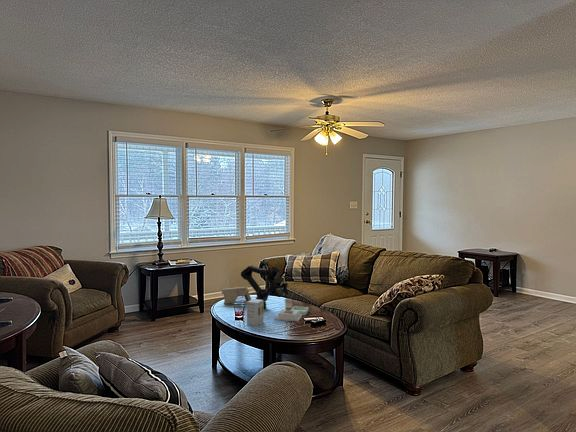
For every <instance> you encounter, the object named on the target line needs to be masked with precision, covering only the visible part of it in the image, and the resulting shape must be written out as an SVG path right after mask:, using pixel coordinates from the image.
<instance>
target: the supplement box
mask: <svg viewBox="0 0 576 432" xmlns="http://www.w3.org/2000/svg"><path fill="white" fill-rule="evenodd" d="M264 311H265V309H264V300H258V299H256V298H251V300H250V301H247V304H246V325H247V326H248V325H249V326H254V327H259V326H261V325H262V324H263V323H264V320H265V317H264V315H265V313H264Z"/></svg>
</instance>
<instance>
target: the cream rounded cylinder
mask: <svg viewBox="0 0 576 432" xmlns="http://www.w3.org/2000/svg"><path fill="white" fill-rule="evenodd" d="M284 302H285V309H286V313H292V308H293V306H292V305H293V304H292V302H293V300H292V298H285V301H284Z"/></svg>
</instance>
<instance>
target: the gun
mask: <svg viewBox="0 0 576 432" xmlns="http://www.w3.org/2000/svg"><path fill="white" fill-rule="evenodd" d="M249 292H250V289H249V288H247V286H238V287H229V288H227V287H226V288H221V294H222V295H223V299H224V300H223V305H225V304H226V305H231V304H232V305H233V304H238V303H239V304H241V303H242V304H244V305H247V301H250V300H252V297H251V294H250V293H249ZM239 297H242V299H243V298H244V299H243V300H237V299H238V298H239Z"/></svg>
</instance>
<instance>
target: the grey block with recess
mask: <svg viewBox="0 0 576 432" xmlns="http://www.w3.org/2000/svg"><path fill="white" fill-rule="evenodd" d="M302 317H303V315H300V314H299V310H292V313H286V308H282V309H281V310H280V311H279V312H278V313H277V316H275V317H274V320H275V321H286V322H287V321H289V322H297V323H298V322H299V321H300V320H301V319H302Z"/></svg>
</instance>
